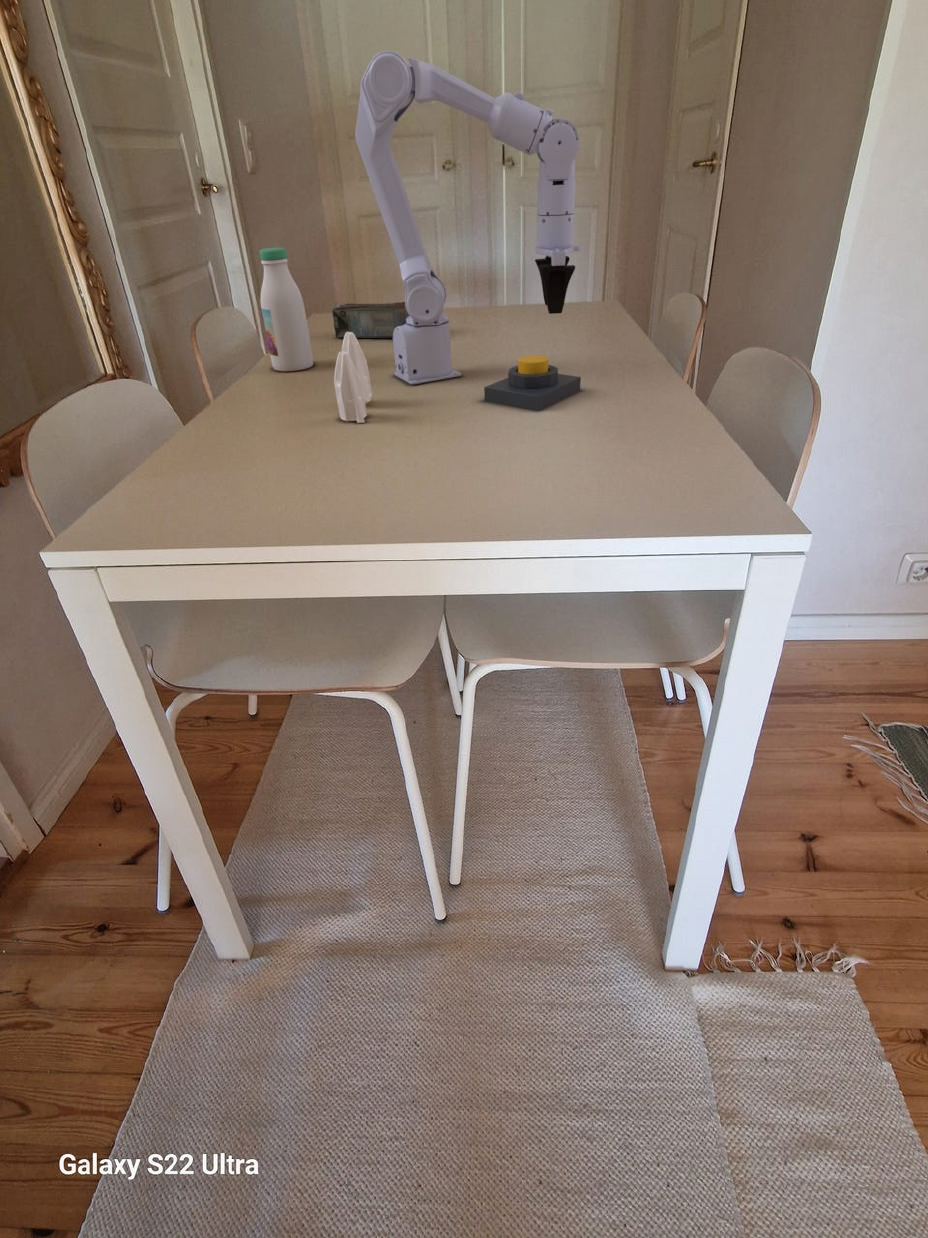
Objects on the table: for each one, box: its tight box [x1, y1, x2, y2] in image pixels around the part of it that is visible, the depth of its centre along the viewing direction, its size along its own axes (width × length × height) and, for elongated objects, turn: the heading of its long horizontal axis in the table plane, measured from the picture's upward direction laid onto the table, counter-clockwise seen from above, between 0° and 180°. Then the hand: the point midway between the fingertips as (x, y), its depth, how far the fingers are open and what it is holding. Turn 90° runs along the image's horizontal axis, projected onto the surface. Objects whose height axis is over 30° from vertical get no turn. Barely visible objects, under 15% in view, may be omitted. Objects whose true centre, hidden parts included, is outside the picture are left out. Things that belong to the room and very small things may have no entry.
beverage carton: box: [331, 301, 410, 339], centre depth 149 cm, size 8×19×7 cm, turn 74°
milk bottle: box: [259, 247, 314, 372], centre depth 125 cm, size 8×8×20 cm
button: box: [517, 354, 549, 374], centre depth 105 cm, size 5×5×2 cm
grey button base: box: [483, 364, 582, 412], centre depth 106 cm, size 12×10×4 cm
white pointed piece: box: [333, 332, 373, 424], centre depth 102 cm, size 12×4×11 cm, turn 179°
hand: (553, 308), depth 114 cm, fingers open, 7 cm apart
